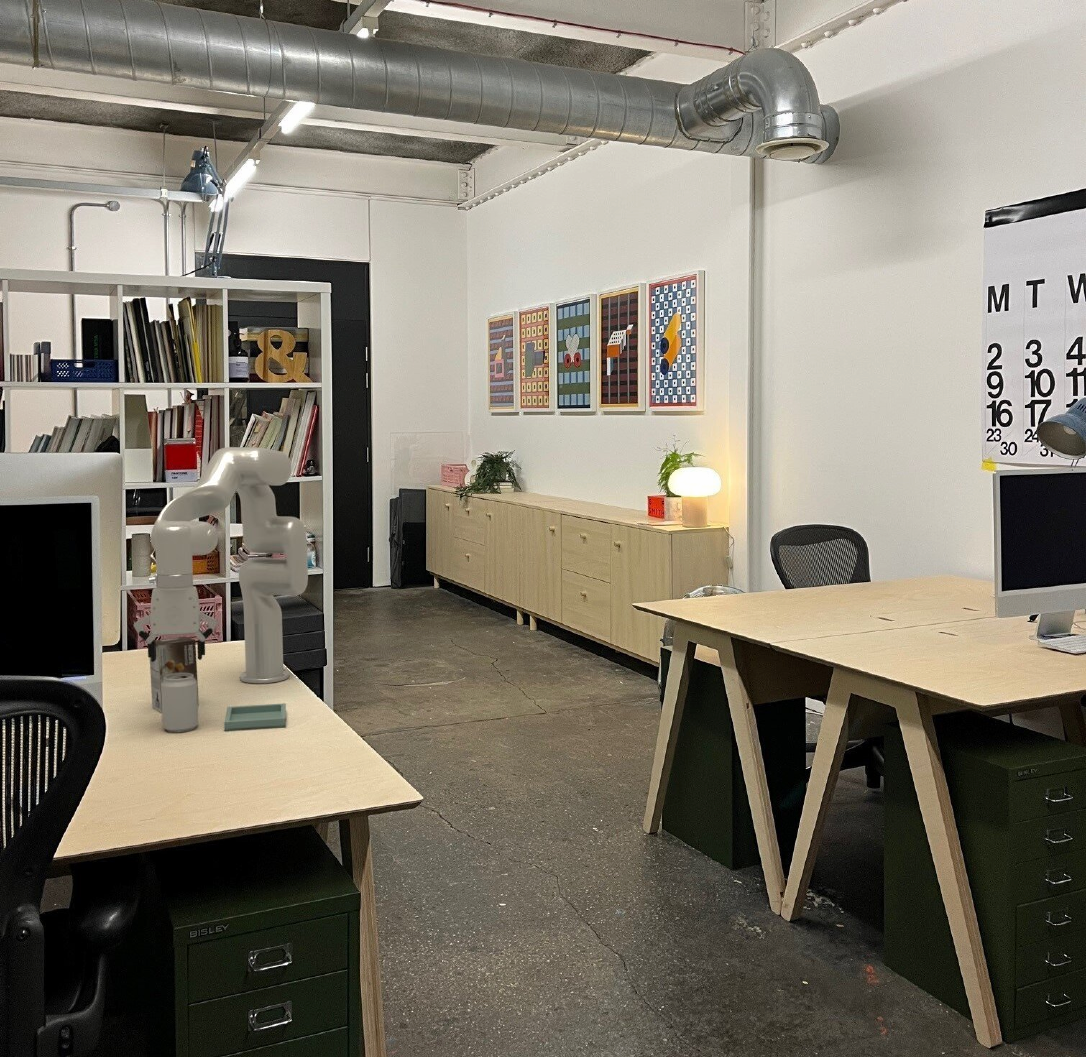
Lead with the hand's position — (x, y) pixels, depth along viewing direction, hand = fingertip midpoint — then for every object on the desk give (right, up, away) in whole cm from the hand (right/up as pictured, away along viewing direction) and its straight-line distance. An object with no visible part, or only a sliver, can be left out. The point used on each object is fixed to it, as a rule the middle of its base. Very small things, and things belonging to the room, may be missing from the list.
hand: (177, 659), depth 240 cm
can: (0, -16, +2) cm, 16 cm away
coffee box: (-7, -14, +20) cm, 25 cm away
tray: (+15, -15, +8) cm, 23 cm away
